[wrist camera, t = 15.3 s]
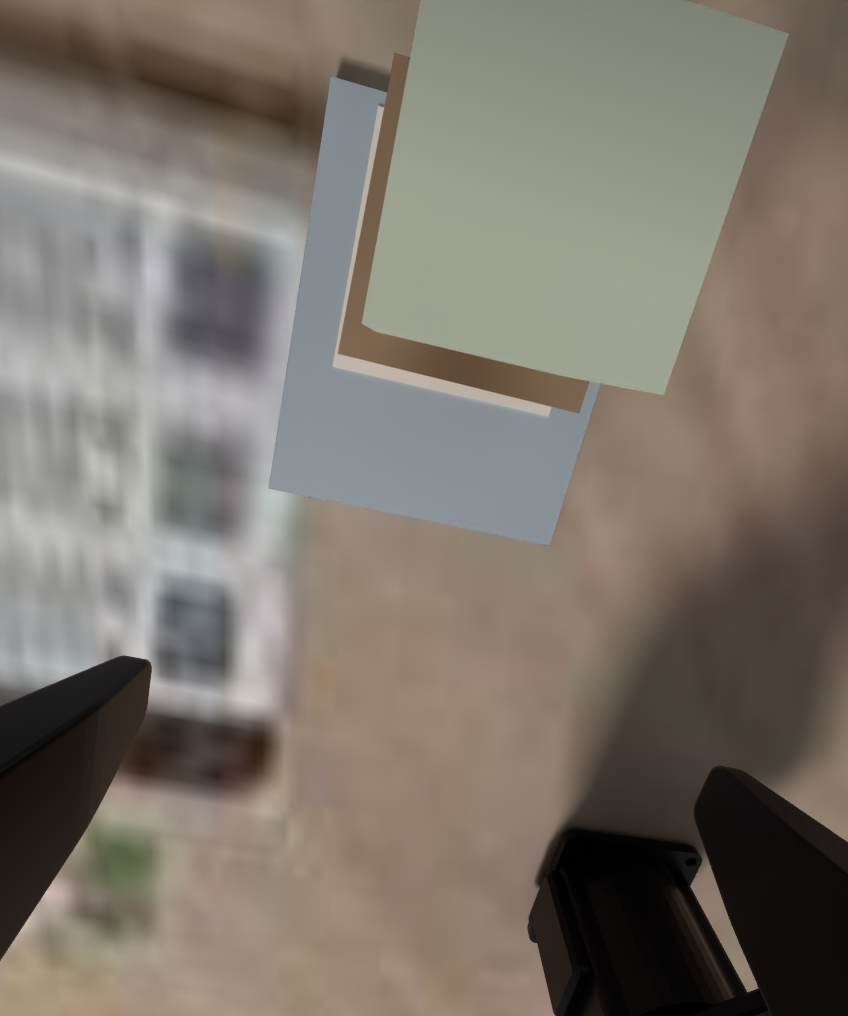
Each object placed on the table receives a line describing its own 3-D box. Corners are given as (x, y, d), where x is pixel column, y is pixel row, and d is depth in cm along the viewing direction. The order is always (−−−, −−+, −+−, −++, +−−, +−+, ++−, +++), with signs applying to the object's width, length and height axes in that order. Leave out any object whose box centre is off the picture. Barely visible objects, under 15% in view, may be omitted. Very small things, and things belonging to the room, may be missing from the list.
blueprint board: (657, 180, 16) (668, 173, 16) (544, 539, 20) (550, 546, 19) (333, 86, 15) (330, 74, 15) (272, 484, 18) (267, 489, 18)
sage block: (626, 163, 11) (788, 33, 7) (564, 376, 13) (663, 395, 8) (419, 103, 11) (435, -82, 6) (375, 331, 12) (361, 323, 7)
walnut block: (593, 195, 16) (667, 139, 11) (534, 396, 17) (579, 413, 13) (395, 136, 15) (394, 52, 11) (353, 351, 17) (337, 353, 12)
